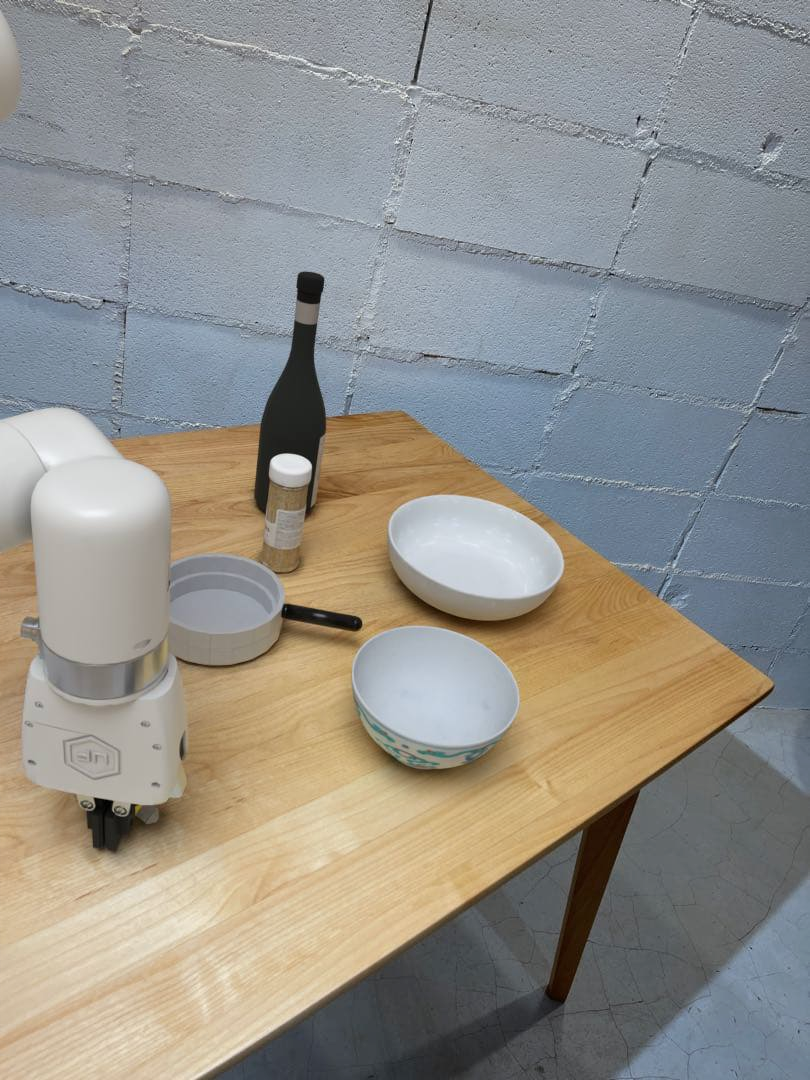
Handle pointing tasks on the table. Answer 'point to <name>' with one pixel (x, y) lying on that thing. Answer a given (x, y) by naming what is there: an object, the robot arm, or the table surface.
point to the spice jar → (285, 511)
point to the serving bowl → (473, 556)
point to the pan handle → (321, 617)
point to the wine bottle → (296, 399)
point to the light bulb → (147, 813)
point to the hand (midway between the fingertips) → (111, 833)
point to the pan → (223, 609)
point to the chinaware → (433, 695)
